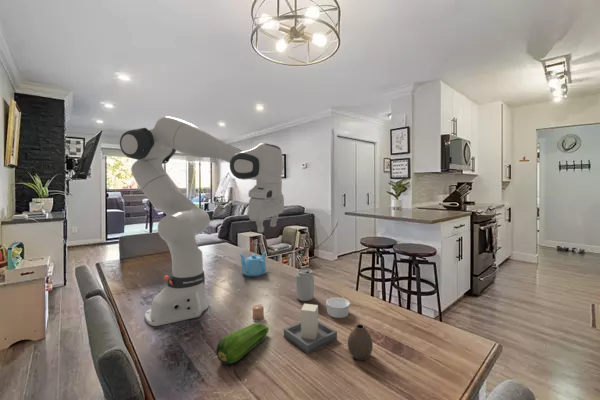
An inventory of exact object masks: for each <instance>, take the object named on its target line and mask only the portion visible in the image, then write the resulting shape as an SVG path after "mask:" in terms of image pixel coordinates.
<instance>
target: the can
mask: <svg viewBox="0 0 600 400" xmlns="http://www.w3.org/2000/svg"><path fill="white" fill-rule="evenodd" d="M295 288H296V289H295V293H296V295H295V296H296V298H297V300H298V301H300V302H310V301H312V300H313V299H314V297H315V274H314V273H313V270H312V269H310V268H300V269H298V270H297V273H296V274H295Z"/></svg>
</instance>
